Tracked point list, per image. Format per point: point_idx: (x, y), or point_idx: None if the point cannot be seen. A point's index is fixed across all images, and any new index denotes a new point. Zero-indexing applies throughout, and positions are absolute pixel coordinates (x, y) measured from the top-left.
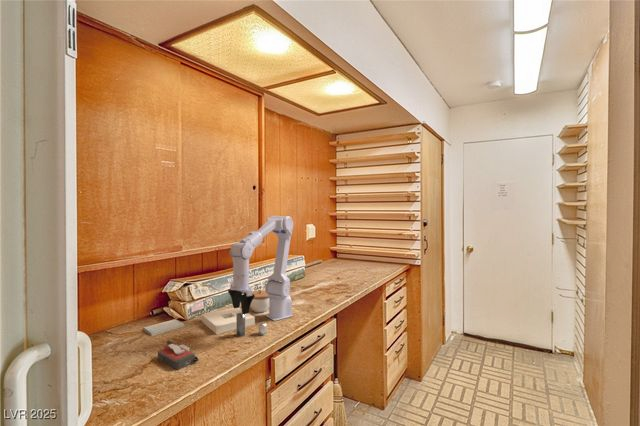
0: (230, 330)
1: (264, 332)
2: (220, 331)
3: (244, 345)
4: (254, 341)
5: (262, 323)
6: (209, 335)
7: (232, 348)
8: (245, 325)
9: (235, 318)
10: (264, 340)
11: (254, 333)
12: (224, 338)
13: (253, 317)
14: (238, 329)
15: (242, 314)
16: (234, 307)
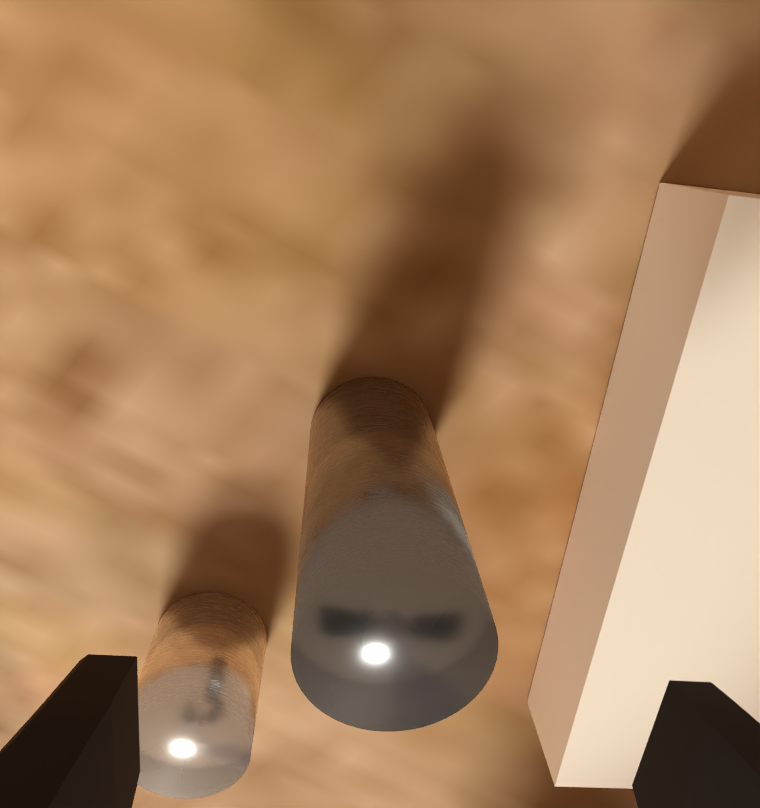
0: (605, 405)
1: (145, 660)
2: (654, 255)
3: (17, 302)
4: (62, 464)
5: (192, 753)
6: (717, 74)
7: (17, 109)
8: (559, 610)
9: (746, 594)
10: (16, 565)
11: (293, 580)
12: (435, 204)
13: (563, 772)
14: (343, 429)
15: (342, 667)
16: (683, 706)
